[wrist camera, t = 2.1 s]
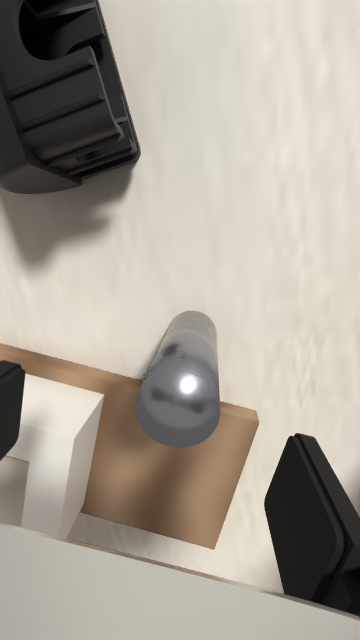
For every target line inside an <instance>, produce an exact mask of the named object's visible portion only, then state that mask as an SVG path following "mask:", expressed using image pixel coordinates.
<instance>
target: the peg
mask: <svg viewBox="0 0 360 640" xmlns="http://www.w3.org/2000/svg"><path fill="white" fill-rule="evenodd" d="M135 415H136V418H137V421H138V423H139V425H140V427H141V428H142V430H143V431H144V432H145V433H146V434H147V435H148V436H149V437H150V438H152V439H153V440H155V441H156V442H158V443H160V444H162V445H165V446H169V447H175V448H186V447H191V446H195V445H197V444H200V443H201V442H203V441H205V440H206V439H207V438H208V437H210V436H211V435H212V433H213V432H214V431H215V429H216V427H217V425H218V422H219V418H220V397H219V376H218V356H217V335H216V328H215V325H214V323H213V322H212V320H211V319H210V318H209V317H208V316H206V315H205V314H203V313H200V312H196V311H187V312H184V313H181V314H179V315H178V316H176V317H175V318H174V319H173V321H172V322H171V324H170V326H169V328H168V330H167V333H166V335H165V337H164V339H163V341H162V343H161V345H160V347H159V349H158V352H157V354H156V356H155V358H154V360H153V362H152V364H151V366H150V368H149V371H148V373H147V375H146V377H145V379H144V381H143V383H142V385H141V387H140V390H139V392H138V394H137V396H136V400H135Z"/></svg>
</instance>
